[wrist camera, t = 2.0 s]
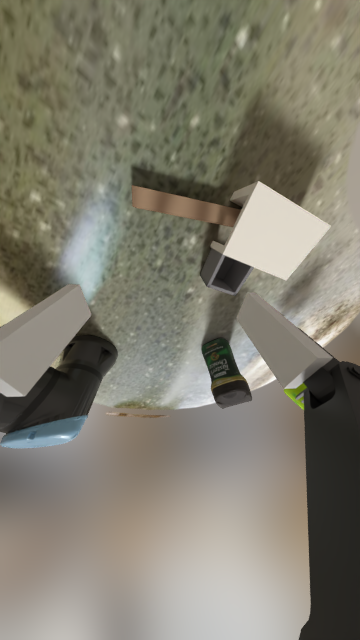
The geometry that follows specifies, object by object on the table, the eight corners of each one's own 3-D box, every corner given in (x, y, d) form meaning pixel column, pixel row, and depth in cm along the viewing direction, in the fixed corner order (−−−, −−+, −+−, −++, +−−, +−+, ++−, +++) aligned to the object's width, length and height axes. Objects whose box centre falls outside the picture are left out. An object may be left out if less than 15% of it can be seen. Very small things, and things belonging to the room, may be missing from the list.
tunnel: (198, 274, 31) (206, 288, 25) (233, 191, 23) (258, 180, 17) (246, 291, 35) (264, 307, 28) (292, 224, 27) (331, 226, 20)
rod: (135, 207, 24) (132, 206, 22) (135, 188, 22) (131, 185, 20) (247, 230, 27) (253, 230, 25) (253, 214, 25) (260, 214, 24)
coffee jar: (223, 333, 44) (252, 392, 29) (230, 347, 48) (258, 403, 33) (197, 345, 46) (211, 404, 31) (206, 357, 50) (222, 414, 36)
